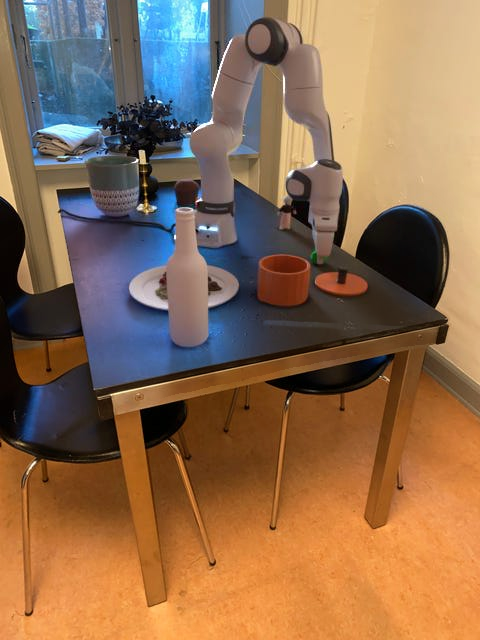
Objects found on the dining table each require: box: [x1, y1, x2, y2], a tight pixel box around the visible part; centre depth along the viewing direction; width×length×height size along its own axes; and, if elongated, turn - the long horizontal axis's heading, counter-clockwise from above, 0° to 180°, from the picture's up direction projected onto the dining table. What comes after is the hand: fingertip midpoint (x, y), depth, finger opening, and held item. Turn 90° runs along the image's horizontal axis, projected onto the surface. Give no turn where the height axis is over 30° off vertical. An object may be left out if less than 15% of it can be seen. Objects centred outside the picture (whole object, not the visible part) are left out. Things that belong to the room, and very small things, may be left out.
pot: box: [256, 254, 311, 307], centre depth 125 cm, size 14×14×10 cm
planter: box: [84, 155, 140, 218], centre depth 184 cm, size 20×20×21 cm
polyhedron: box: [310, 249, 328, 266], centre depth 147 cm, size 5×5×5 cm
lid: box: [314, 265, 369, 297], centre depth 132 cm, size 15×15×6 cm
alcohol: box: [166, 206, 209, 348], centre depth 100 cm, size 9×9×30 cm
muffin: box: [172, 178, 201, 206], centre depth 205 cm, size 12×11×10 cm
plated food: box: [128, 264, 240, 311], centre depth 128 cm, size 30×30×3 cm
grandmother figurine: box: [276, 194, 297, 231], centre depth 176 cm, size 8×4×13 cm, turn 117°
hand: (318, 259), depth 147 cm, fingers closed on polyhedron, 5 cm apart
